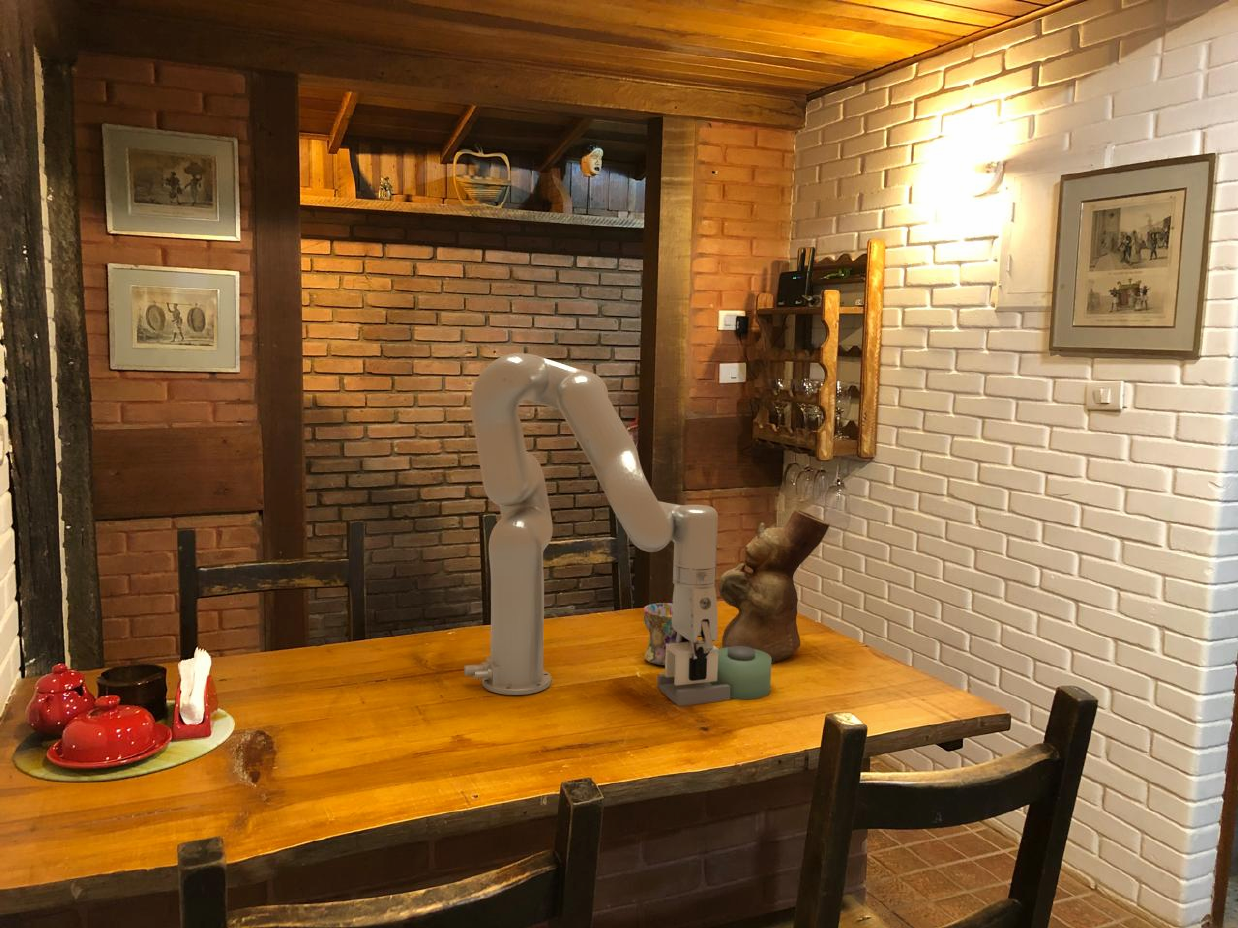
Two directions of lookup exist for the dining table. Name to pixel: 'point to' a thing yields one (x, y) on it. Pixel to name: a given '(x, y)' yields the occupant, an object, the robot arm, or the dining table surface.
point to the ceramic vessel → (770, 586)
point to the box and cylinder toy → (725, 679)
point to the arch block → (687, 663)
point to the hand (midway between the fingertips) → (690, 673)
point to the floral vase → (659, 631)
